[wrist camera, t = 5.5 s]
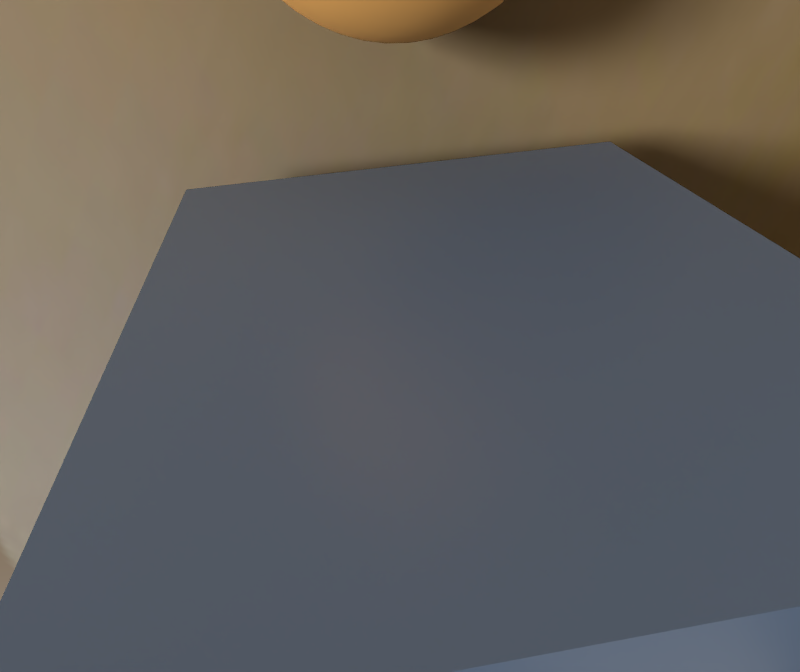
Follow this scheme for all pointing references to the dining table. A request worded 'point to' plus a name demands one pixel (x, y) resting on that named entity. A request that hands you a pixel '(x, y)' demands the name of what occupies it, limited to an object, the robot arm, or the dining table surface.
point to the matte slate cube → (435, 435)
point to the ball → (393, 17)
